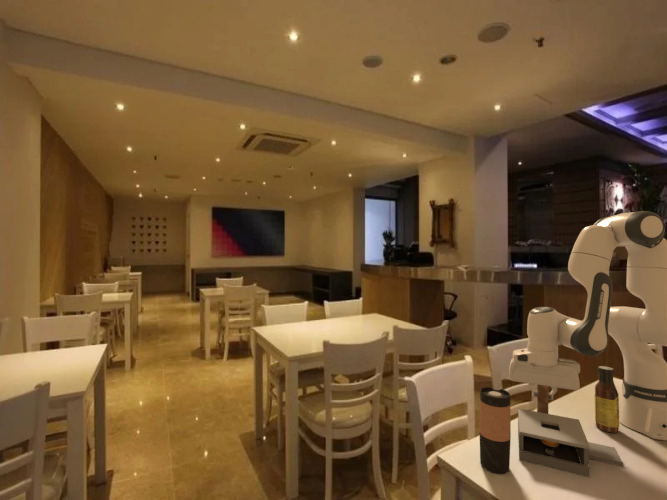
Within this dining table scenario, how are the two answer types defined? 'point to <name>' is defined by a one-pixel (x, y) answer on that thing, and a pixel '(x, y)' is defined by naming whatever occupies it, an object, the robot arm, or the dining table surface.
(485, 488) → the dining table surface
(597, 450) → the pad
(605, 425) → the sauce bottle
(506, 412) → the travel mug
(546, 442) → the button
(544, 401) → the brown wooden bar
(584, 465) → the box
